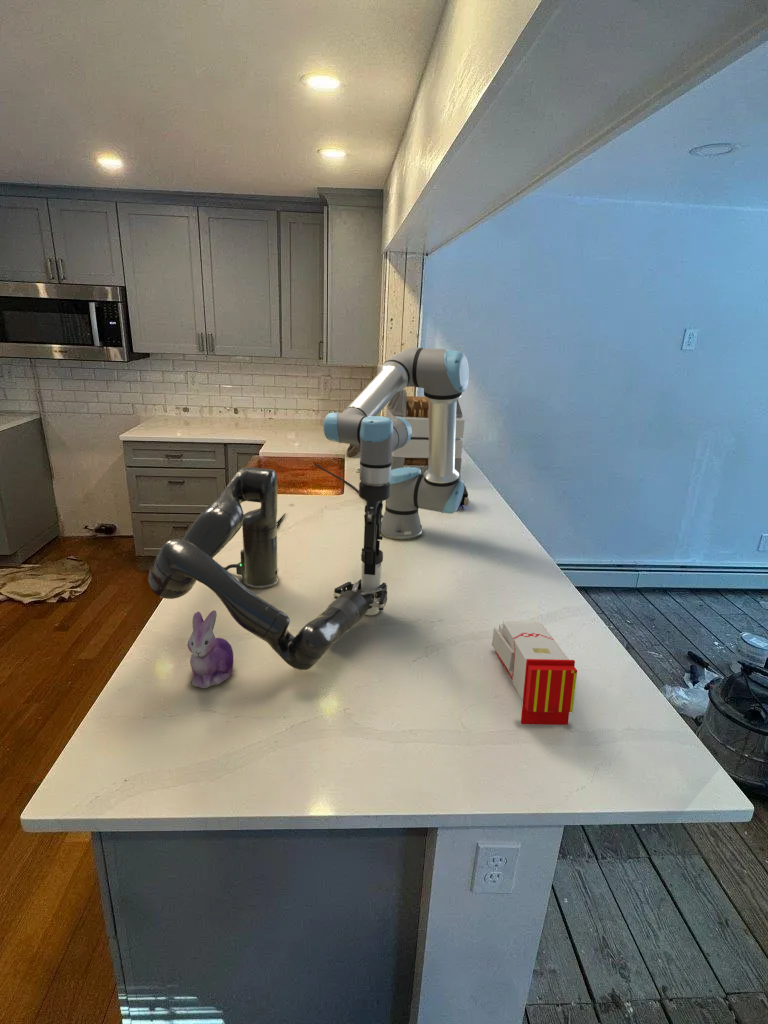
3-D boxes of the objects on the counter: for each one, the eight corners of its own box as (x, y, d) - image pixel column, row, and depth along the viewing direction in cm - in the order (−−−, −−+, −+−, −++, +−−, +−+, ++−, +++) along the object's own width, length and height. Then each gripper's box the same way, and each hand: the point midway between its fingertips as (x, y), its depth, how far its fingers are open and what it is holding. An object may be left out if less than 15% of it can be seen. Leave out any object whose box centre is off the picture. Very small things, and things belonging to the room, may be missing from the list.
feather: (292, 507, 224) (294, 503, 223) (275, 531, 197) (278, 527, 197) (288, 505, 224) (291, 501, 223) (271, 528, 197) (273, 524, 197)
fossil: (346, 440, 316) (367, 425, 311) (357, 453, 319) (378, 438, 314) (340, 453, 296) (362, 438, 291) (351, 468, 299) (374, 452, 294)
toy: (538, 606, 134) (586, 666, 105) (533, 659, 137) (578, 731, 108) (487, 605, 134) (521, 665, 105) (483, 658, 137) (515, 730, 107)
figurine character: (468, 514, 225) (463, 498, 239) (470, 497, 222) (465, 482, 235) (451, 514, 225) (447, 498, 238) (453, 497, 222) (449, 481, 235)
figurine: (194, 695, 113) (188, 630, 108) (185, 667, 122) (179, 606, 117) (241, 683, 118) (238, 620, 112) (229, 657, 126) (226, 597, 121)
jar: (383, 610, 149) (385, 557, 144) (370, 617, 145) (372, 563, 140) (369, 603, 152) (371, 551, 147) (356, 610, 148) (357, 557, 143)
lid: (357, 562, 142) (357, 554, 142) (366, 554, 147) (366, 546, 146) (377, 566, 140) (377, 558, 140) (386, 558, 145) (386, 550, 144)
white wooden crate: (382, 463, 289) (386, 382, 275) (445, 464, 293) (451, 384, 279) (390, 482, 257) (394, 392, 243) (460, 483, 261) (468, 394, 247)
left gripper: (318, 618, 138) (350, 590, 153) (371, 633, 133) (399, 602, 147) (318, 591, 135) (351, 564, 150) (372, 605, 130) (401, 576, 145)
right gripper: (365, 470, 146) (363, 552, 154) (352, 492, 129) (350, 583, 137) (394, 472, 145) (390, 555, 153) (385, 494, 128) (380, 586, 136)
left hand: (375, 583), depth 149 cm, fingers closed on jar, 5 cm apart
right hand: (371, 568), depth 145 cm, fingers closed on lid, 5 cm apart
